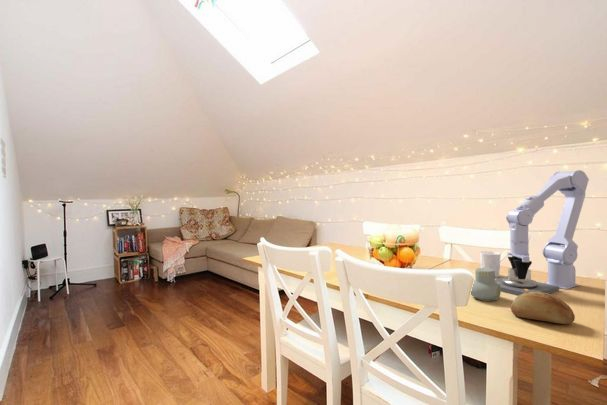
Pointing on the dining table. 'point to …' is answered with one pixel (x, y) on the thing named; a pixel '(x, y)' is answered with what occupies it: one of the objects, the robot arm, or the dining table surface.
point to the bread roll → (542, 308)
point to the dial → (519, 280)
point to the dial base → (518, 291)
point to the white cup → (490, 261)
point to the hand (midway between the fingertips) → (519, 277)
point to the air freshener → (485, 285)
